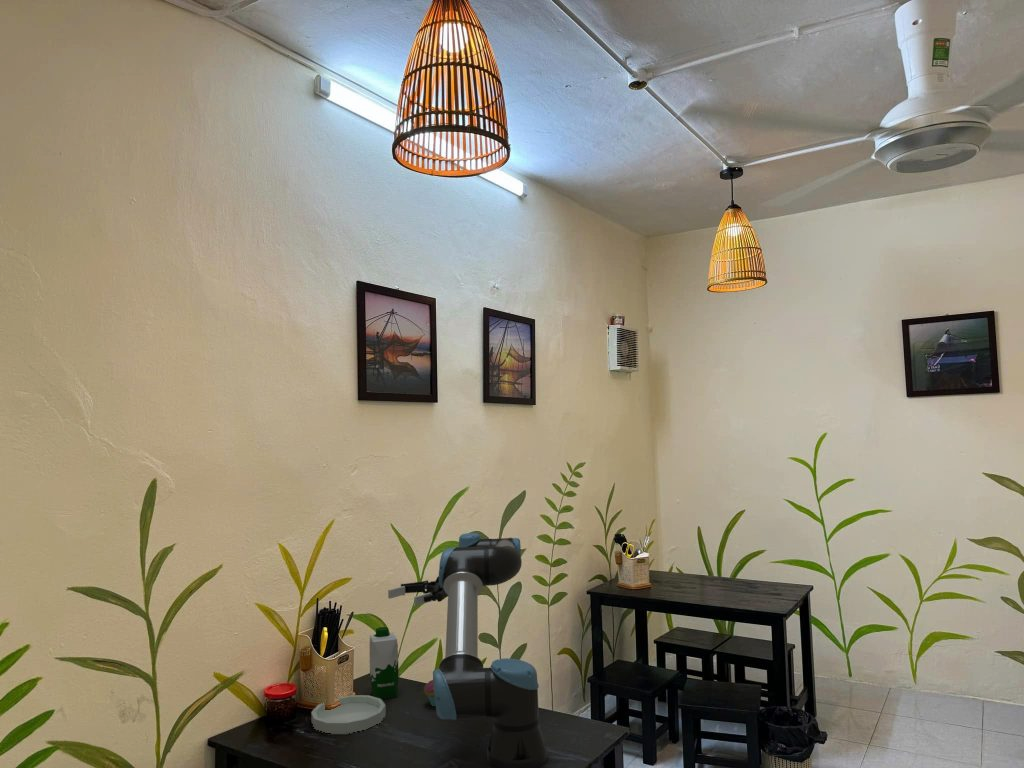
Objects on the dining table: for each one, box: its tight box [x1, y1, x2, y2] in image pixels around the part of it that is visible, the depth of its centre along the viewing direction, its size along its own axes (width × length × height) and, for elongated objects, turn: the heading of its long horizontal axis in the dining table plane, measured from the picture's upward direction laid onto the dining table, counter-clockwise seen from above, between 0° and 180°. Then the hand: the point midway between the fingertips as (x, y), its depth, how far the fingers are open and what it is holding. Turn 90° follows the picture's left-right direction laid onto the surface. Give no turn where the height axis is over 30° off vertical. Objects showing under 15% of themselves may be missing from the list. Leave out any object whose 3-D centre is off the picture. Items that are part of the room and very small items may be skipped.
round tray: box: [310, 694, 387, 735], centre depth 207 cm, size 20×20×3 cm
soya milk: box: [368, 626, 399, 700], centre depth 225 cm, size 9×9×20 cm
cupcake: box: [423, 679, 436, 707], centre depth 216 cm, size 9×8×12 cm
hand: (401, 597), depth 231 cm, fingers open, 13 cm apart
